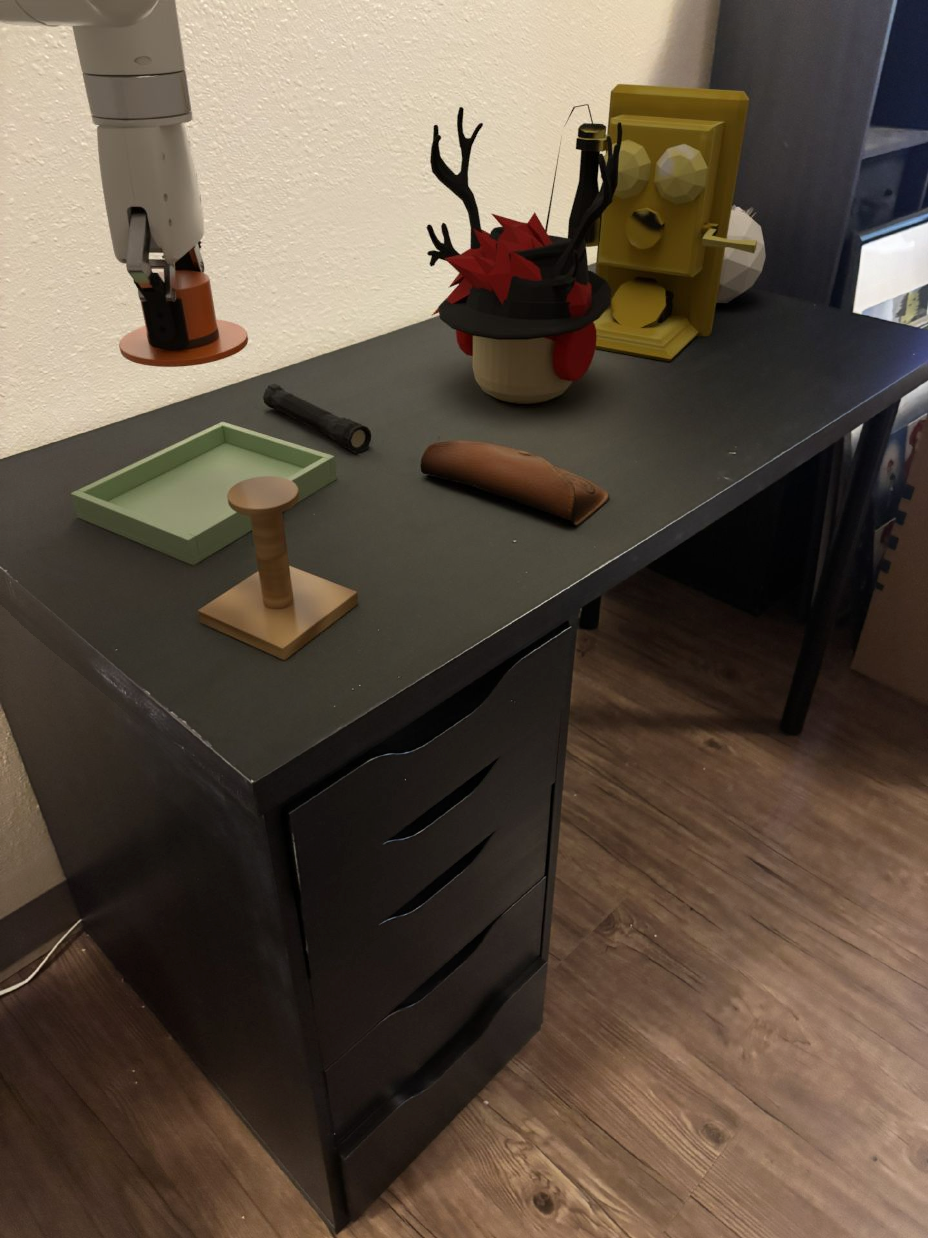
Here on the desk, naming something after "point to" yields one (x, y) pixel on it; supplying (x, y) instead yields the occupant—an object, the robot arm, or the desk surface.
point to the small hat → (189, 329)
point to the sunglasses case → (515, 477)
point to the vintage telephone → (662, 212)
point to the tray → (197, 489)
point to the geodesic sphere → (741, 256)
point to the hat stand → (274, 580)
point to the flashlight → (319, 419)
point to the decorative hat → (522, 290)
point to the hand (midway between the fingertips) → (182, 331)
